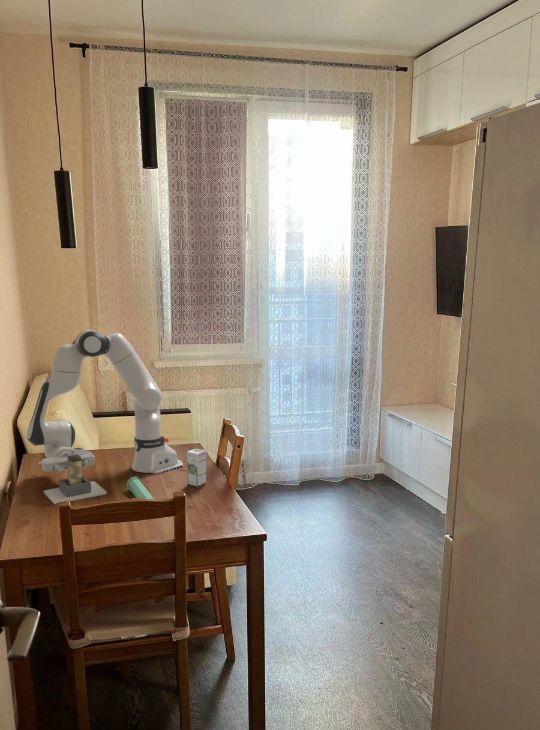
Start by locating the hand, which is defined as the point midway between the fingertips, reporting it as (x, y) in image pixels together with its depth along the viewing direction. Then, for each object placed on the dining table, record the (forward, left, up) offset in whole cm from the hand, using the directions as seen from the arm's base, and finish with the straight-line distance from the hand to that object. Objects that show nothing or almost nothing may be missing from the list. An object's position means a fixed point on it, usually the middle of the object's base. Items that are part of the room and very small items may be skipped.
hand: (74, 467), depth 233 cm
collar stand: (0, 0, -10) cm, 11 cm away
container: (-19, +20, -11) cm, 30 cm away
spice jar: (0, 0, -9) cm, 10 cm away
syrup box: (-45, +16, -11) cm, 49 cm away
